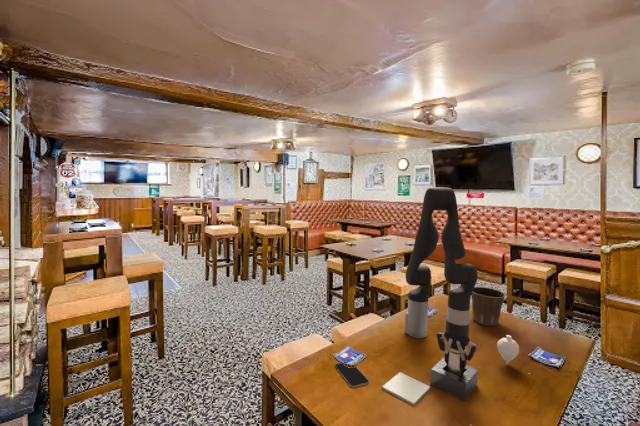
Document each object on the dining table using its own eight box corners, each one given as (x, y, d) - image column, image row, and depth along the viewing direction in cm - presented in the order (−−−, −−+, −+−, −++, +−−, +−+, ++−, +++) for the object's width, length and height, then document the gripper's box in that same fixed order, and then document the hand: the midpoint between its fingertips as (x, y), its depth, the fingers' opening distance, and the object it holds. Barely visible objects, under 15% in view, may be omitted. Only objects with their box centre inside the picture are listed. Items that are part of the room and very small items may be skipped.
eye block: (430, 385, 114) (430, 369, 113) (443, 371, 122) (444, 356, 122) (464, 401, 105) (465, 384, 105) (476, 385, 114) (478, 369, 113)
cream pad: (382, 388, 111) (382, 386, 111) (399, 374, 120) (399, 372, 120) (413, 405, 103) (414, 403, 103) (430, 388, 111) (430, 386, 111)
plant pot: (503, 319, 171) (505, 290, 169) (502, 331, 157) (505, 299, 156) (470, 312, 179) (472, 284, 178) (466, 323, 166) (468, 293, 164)
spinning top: (506, 371, 123) (509, 341, 122) (491, 360, 130) (493, 332, 129) (522, 368, 125) (525, 339, 124) (506, 358, 132) (508, 330, 131)
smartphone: (350, 360, 128) (370, 381, 114) (350, 362, 128) (370, 384, 114) (333, 364, 125) (351, 386, 111) (333, 366, 125) (351, 389, 111)
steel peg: (444, 385, 114) (446, 347, 112) (449, 379, 117) (451, 342, 116) (458, 391, 110) (460, 352, 109) (462, 385, 114) (465, 347, 113)
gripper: (433, 316, 114) (431, 362, 115) (475, 329, 104) (472, 379, 106) (441, 310, 119) (439, 354, 121) (483, 322, 109) (479, 369, 111)
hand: (454, 365), depth 113 cm, fingers closed on steel peg, 4 cm apart
